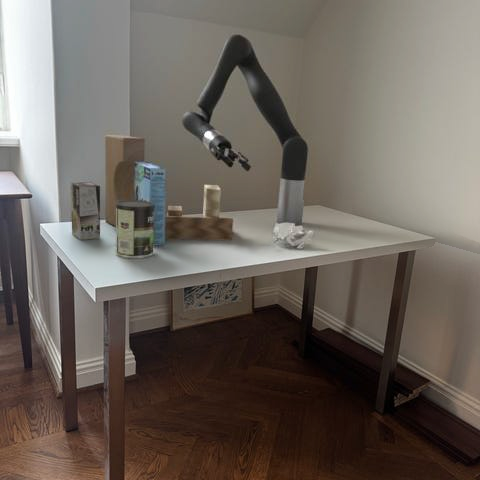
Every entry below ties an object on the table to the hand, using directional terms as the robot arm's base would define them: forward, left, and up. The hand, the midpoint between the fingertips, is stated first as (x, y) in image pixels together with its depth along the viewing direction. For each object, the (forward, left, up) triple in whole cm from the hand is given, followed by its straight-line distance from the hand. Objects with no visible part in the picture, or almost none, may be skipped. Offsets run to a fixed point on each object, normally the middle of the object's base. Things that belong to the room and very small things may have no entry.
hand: (240, 167), depth 164 cm
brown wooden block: (+16, +11, -22) cm, 29 cm away
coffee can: (+34, +36, -22) cm, 54 cm away
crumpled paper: (-15, +22, -22) cm, 35 cm away
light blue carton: (+31, +18, -22) cm, 42 cm away
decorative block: (+40, +2, -22) cm, 45 cm away
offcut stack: (+23, +11, -22) cm, 33 cm away
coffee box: (+50, +18, -22) cm, 57 cm away
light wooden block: (+11, +11, -22) cm, 27 cm away
